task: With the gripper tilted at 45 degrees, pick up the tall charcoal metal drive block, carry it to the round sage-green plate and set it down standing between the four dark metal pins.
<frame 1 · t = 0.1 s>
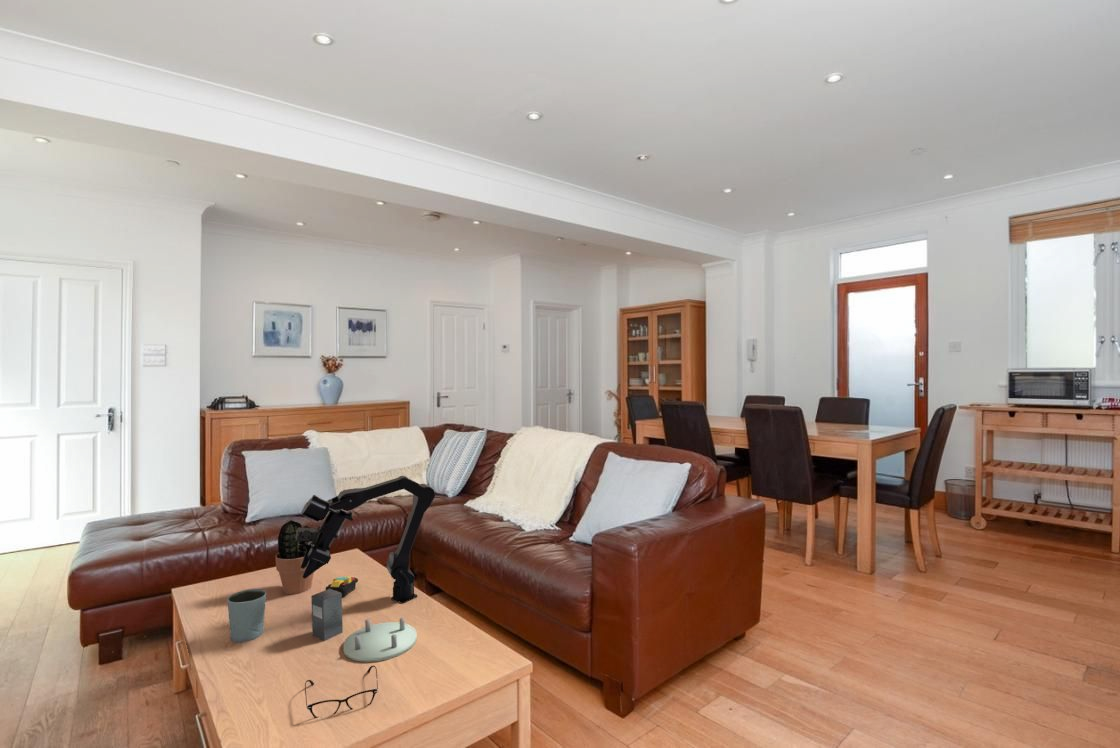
hand: (302, 572, 173), 15 cm above the table, fingers open, 9 cm apart
pin plate: (380, 642, 159), on the table
embossed blue-grey cup: (248, 635, 165), on the table
eyeglasses: (342, 696, 135), on the table
gadget: (344, 593, 194), on the table
drive block: (327, 634, 164), on the table
potted plant: (297, 589, 198), on the table
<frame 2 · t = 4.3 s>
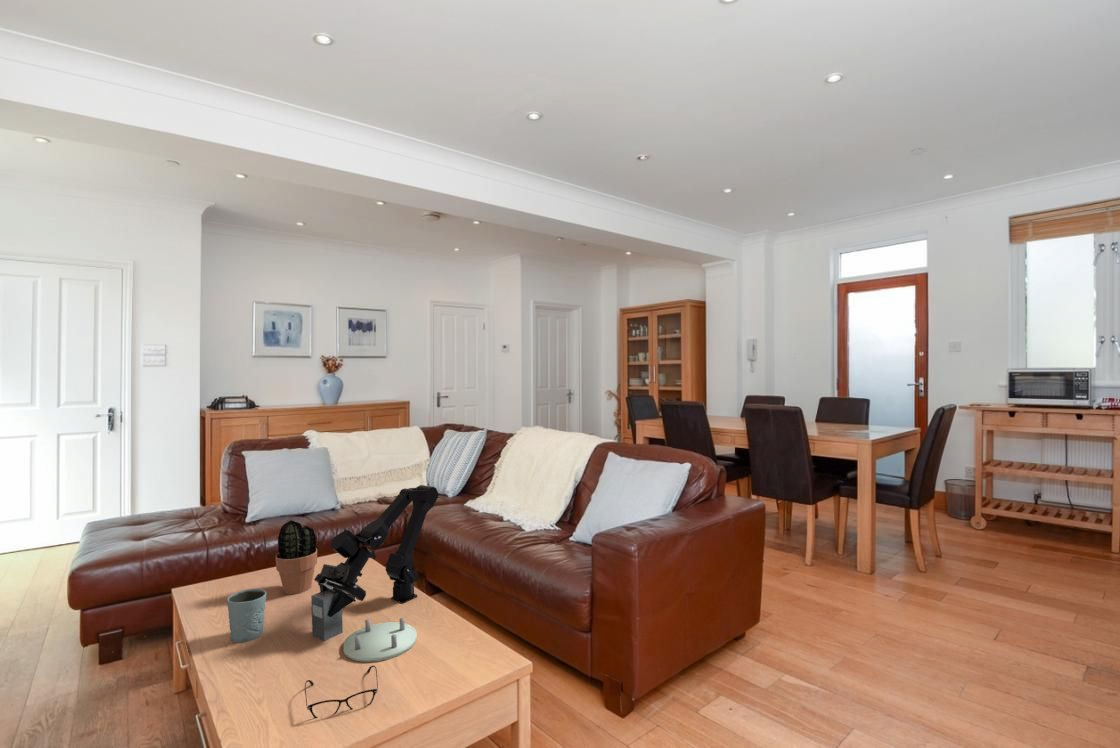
hand: (322, 613, 163), 7 cm above the table, fingers closed on drive block, 6 cm apart
drive block: (327, 634, 164), on the table, touching gripper
everything else where it was.
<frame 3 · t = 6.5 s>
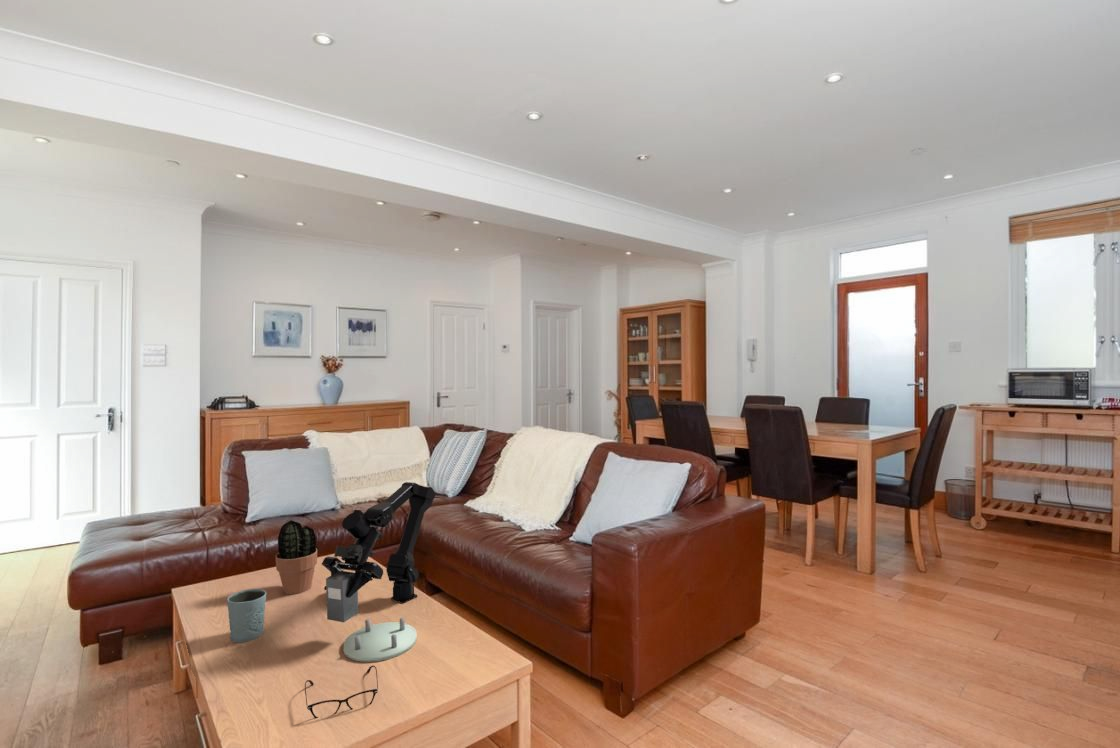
hand: (338, 595, 159), 13 cm above the table, fingers closed on drive block, 6 cm apart
drive block: (342, 616, 161), point 7 cm above the table, touching gripper
everything else where it was.
when the fingers open (9 cm above the table, at t = 9.1 s): drive block stays where it is, resting on pin plate.
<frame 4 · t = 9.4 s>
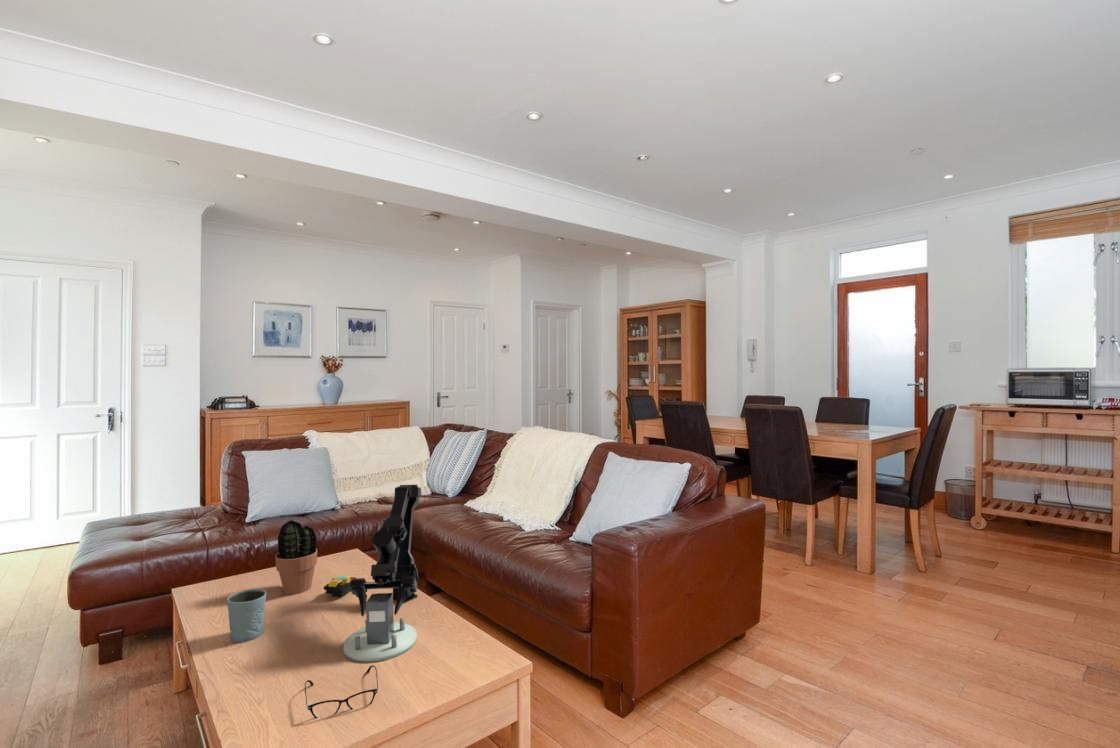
hand: (378, 615, 157), 9 cm above the table, fingers open, 9 cm apart
drive block: (380, 638, 159), point 1 cm above the table, touching pin plate
everything else where it was.
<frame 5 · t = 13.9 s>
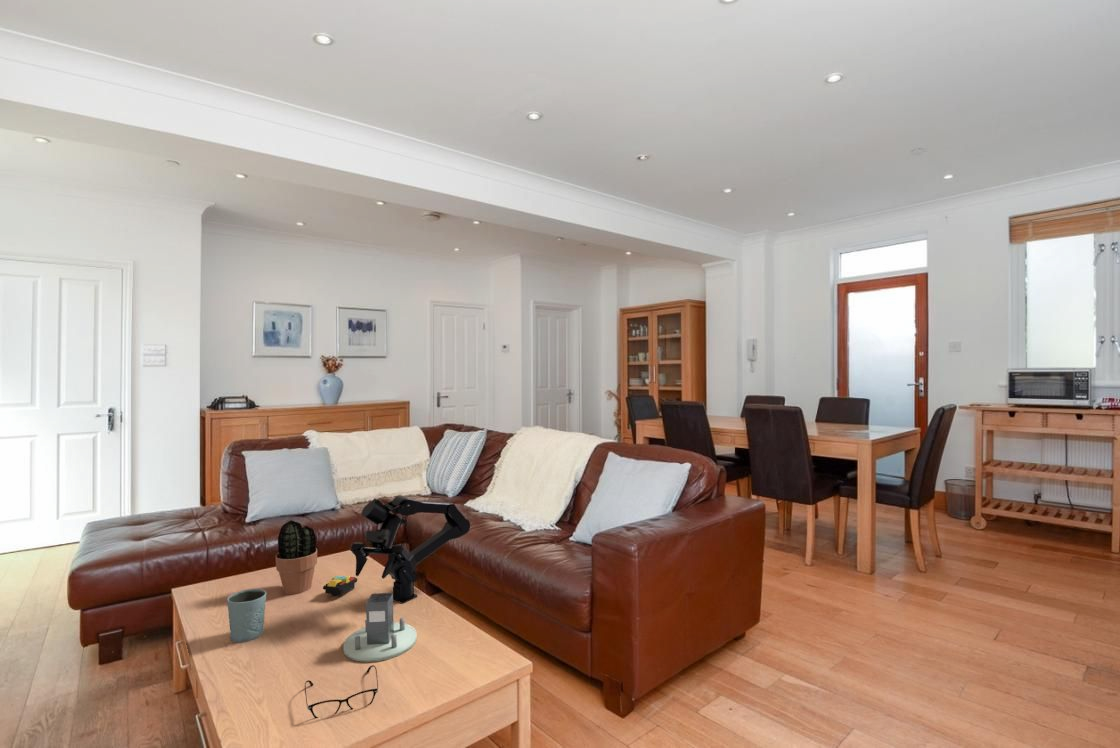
hand: (369, 577, 173), 14 cm above the table, fingers open, 9 cm apart
nothing on the table moved.
at the end: drive block 0.0 cm off-centre on the pin plate, point 1.2 cm above the pin plate's base; drive block tilted 0°; the gripper is holding nothing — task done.
